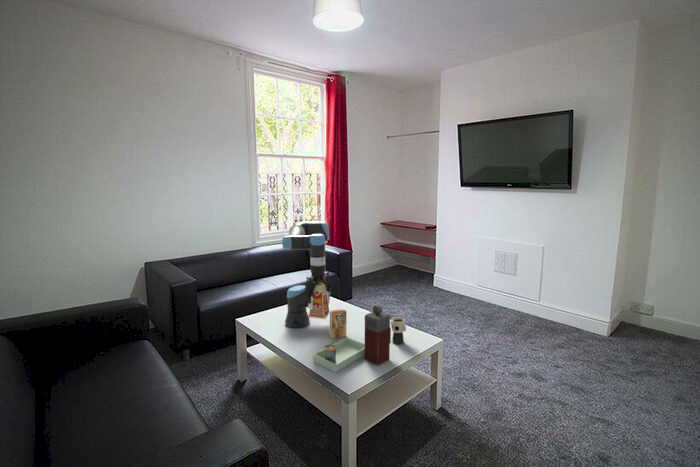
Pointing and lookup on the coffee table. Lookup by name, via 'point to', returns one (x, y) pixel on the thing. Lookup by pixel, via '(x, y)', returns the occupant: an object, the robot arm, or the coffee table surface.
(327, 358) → the coffee tin
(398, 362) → the coffee table surface
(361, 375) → the coffee table surface
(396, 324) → the character mug
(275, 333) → the coffee table surface
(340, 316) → the candy box
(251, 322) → the coffee table surface
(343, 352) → the pale green tray
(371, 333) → the toy vending machine
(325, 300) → the milk carton
